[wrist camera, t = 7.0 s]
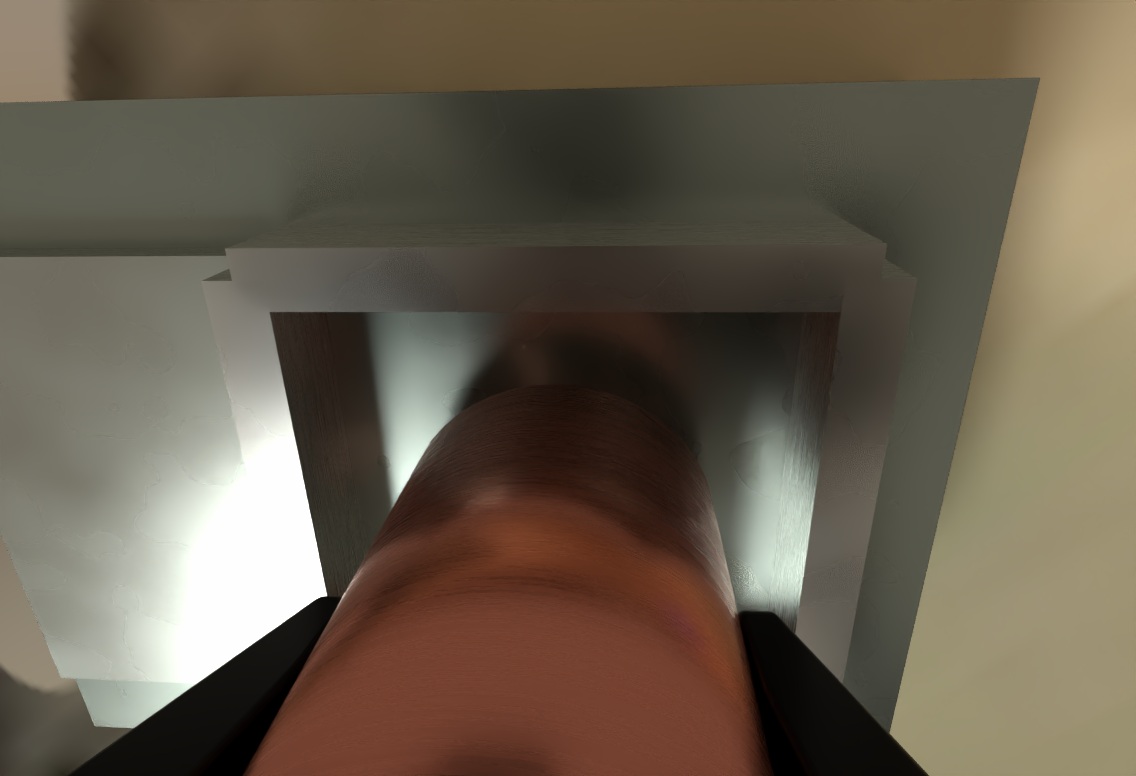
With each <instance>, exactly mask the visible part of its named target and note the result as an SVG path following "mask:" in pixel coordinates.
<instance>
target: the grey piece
mask: <svg viewBox="0 0 1136 776" xmlns="http://www.w3.org/2000/svg"><path fill="white" fill-rule="evenodd" d="M1039 80H1040V78H1010V79H968V80H927V81H885V82H844V83H802V84H760V85H719V86H677V87H635V88H594V89H552V90H511V91H469V92H427V93H386V94H344V95H302V96H261V97H219V98H177V99H136V100H94V101H53V102H15V103H14V102H13V103H0V534H1V536H2V538H3V541H4V543H5V545H6V548H7V550H8V553H9V555H10V557H11V560H12V562H13V564H14V567H15V569H16V572H17V574H18V576H19V579H20V581H21V584H22V586H23V588H24V591H25V593H26V595H27V598H28V600H29V602H30V605H31V607H32V609H33V612H34V615H35V617H36V619H37V622H38V624H39V626H40V629H41V631H42V634H43V636H44V638H45V641H46V643H47V646H48V648H49V650H50V653H51V655H52V657H53V660H54V662H55V665H56V667H57V669H58V672H59V674H60V677H61V678H75V679H76V681H77V684H78V686H79V689H80V691H81V694H82V696H83V699H84V701H85V703H86V706H87V708H88V711H89V713H90V716H91V718H92V721H93V723H94V725H95V726H102V727H122V728H135V727H136V726H137V725H139V724H140V723H142V722H143V721H144V720H146V719H147V718H149V717H150V716H151V715H153V714H154V713H156V712H157V711H158V710H160V709H161V708H163V707H164V706H166V705H167V704H168V703H170V702H171V701H173V700H174V699H175V698H177V697H178V696H180V695H181V694H182V693H184V692H185V691H187V690H188V689H190V688H191V687H192V686H194V685H195V684H197V683H198V682H199V681H201V680H202V679H204V678H205V677H206V676H208V675H209V674H211V673H212V672H213V671H215V670H216V669H218V668H219V667H221V666H222V665H223V664H225V663H226V662H228V661H229V660H230V659H232V658H233V657H235V656H236V655H237V654H239V653H240V652H242V651H243V650H245V649H246V648H247V647H249V646H250V645H252V644H253V643H254V642H256V641H257V640H259V639H260V638H261V637H263V636H264V635H266V634H267V633H269V632H270V631H271V630H273V629H274V628H276V627H277V626H278V625H280V624H281V623H283V622H284V621H285V620H287V619H288V618H290V617H291V616H292V615H294V614H295V613H297V612H298V611H300V610H301V609H302V608H304V607H305V606H307V605H308V604H309V603H311V602H312V601H314V600H315V599H317V598H319V597H322V596H341V597H343V595H344V593H345V592H346V590H347V588H348V586H349V584H350V583H351V581H352V579H353V577H354V576H355V574H356V572H357V570H358V568H359V567H360V565H361V563H362V561H363V560H364V558H365V556H366V554H367V552H368V551H369V549H370V547H371V545H372V543H373V542H374V540H375V538H376V536H377V535H378V533H379V531H380V529H381V527H382V526H383V524H384V522H385V520H386V519H387V517H388V515H389V513H390V511H391V510H392V508H393V506H394V504H395V502H396V501H397V499H398V497H399V495H400V494H401V492H402V490H403V488H404V486H405V485H406V483H407V481H408V479H409V478H410V476H411V474H412V472H413V470H414V469H415V467H416V465H417V463H418V461H419V460H420V458H421V456H422V454H423V453H424V451H425V450H426V448H427V447H428V445H429V443H430V442H431V440H432V439H433V438H434V437H435V436H436V434H437V433H438V432H439V431H440V430H441V429H442V428H443V426H445V425H446V424H447V423H448V422H449V421H450V420H452V419H453V418H454V417H455V416H456V415H457V414H459V413H460V412H462V411H464V410H465V409H467V408H468V407H470V406H471V405H473V404H475V403H477V402H479V401H481V400H483V399H485V398H488V397H490V396H492V395H495V394H498V393H501V392H504V391H508V390H511V389H515V388H521V387H526V386H532V385H548V384H561V385H575V386H581V387H587V388H592V389H597V390H601V391H604V392H607V393H610V394H613V395H616V396H619V397H621V398H624V399H626V400H628V401H630V402H632V403H634V404H637V405H639V406H640V407H642V408H644V409H645V410H647V411H648V412H650V413H652V414H653V415H655V416H656V417H658V418H659V419H660V420H661V421H662V422H664V423H665V424H666V425H667V426H669V427H670V428H671V429H672V430H673V431H674V432H675V433H676V434H677V435H678V436H679V437H680V438H681V439H682V440H683V442H684V443H685V444H686V445H687V446H688V448H689V449H690V451H691V452H692V454H693V455H694V456H695V458H696V459H697V461H698V463H699V465H700V467H701V469H702V471H703V473H704V475H705V477H706V480H707V483H708V486H709V489H710V492H711V496H712V501H713V505H714V509H715V514H716V518H717V523H718V527H719V532H720V536H721V541H722V545H723V549H724V554H725V558H726V563H727V567H728V572H729V576H730V581H731V585H732V589H733V594H734V598H735V603H736V607H737V612H738V614H739V613H740V612H741V611H744V610H750V611H770V612H773V613H775V614H777V615H778V616H779V617H780V618H781V619H782V620H783V621H784V622H785V623H786V625H787V626H788V627H789V628H790V629H791V630H792V631H793V632H794V633H795V634H796V635H797V636H798V637H799V638H800V639H801V640H802V641H803V643H804V644H805V645H806V646H807V647H808V648H809V649H810V650H811V651H812V652H813V653H814V654H815V655H816V656H817V657H818V658H819V659H820V661H821V662H822V663H823V664H824V665H825V666H826V667H827V668H828V669H829V670H830V671H831V672H832V673H833V674H834V675H835V676H836V678H837V679H838V680H839V681H840V682H841V683H842V684H843V685H844V686H845V687H846V688H847V689H848V690H849V691H850V692H851V693H852V694H853V696H854V697H855V698H856V699H857V700H858V701H859V702H860V703H861V704H862V705H863V706H864V707H865V708H866V709H867V710H868V711H869V712H870V714H871V715H872V716H873V717H874V718H875V719H876V720H877V721H878V722H879V723H880V724H881V725H882V726H883V727H884V728H885V729H886V731H887V732H888V733H889V732H890V728H891V724H892V719H893V715H894V711H895V706H896V702H897V698H898V693H899V689H900V684H901V680H902V676H903V671H904V667H905V663H906V658H907V654H908V650H909V645H910V641H911V637H912V632H913V628H914V624H915V619H916V615H917V610H918V606H919V602H920V597H921V593H922V589H923V584H924V580H925V576H926V571H927V567H928V563H929V558H930V554H931V550H932V545H933V541H934V536H935V532H936V528H937V523H938V519H939V515H940V510H941V506H942V502H943V497H944V493H945V489H946V484H947V480H948V476H949V471H950V467H951V463H952V458H953V454H954V449H955V445H956V441H957V436H958V432H959V428H960V423H961V419H962V415H963V410H964V406H965V402H966V397H967V393H968V389H969V384H970V380H971V375H972V371H973V367H974V362H975V358H976V354H977V349H978V345H979V341H980V336H981V332H982V328H983V323H984V319H985V315H986V310H987V306H988V301H989V297H990V293H991V288H992V284H993V280H994V275H995V271H996V267H997V262H998V258H999V254H1000V249H1001V245H1002V241H1003V236H1004V232H1005V228H1006V223H1007V219H1008V214H1009V210H1010V206H1011V201H1012V197H1013V193H1014V188H1015V184H1016V180H1017V175H1018V171H1019V167H1020V162H1021V158H1022V154H1023V149H1024V145H1025V140H1026V136H1027V132H1028V127H1029V123H1030V119H1031V114H1032V110H1033V106H1034V101H1035V97H1036V93H1037V88H1038V84H1039Z"/></svg>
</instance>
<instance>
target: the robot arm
mask: <svg viewBox="0 0 1136 776" xmlns="http://www.w3.org/2000/svg"><path fill="white" fill-rule="evenodd" d="M341 599H342V597H341V596H322V597H319V598H317V599H315V600H314V601H312V602H311V603H309V604H308V605H307V606H305V607H304V608H302V609H301V610H300V611H298V612H297V613H295V614H294V615H292V616H291V617H290V618H288V619H287V620H285V621H284V622H283V623H281V624H280V625H278V626H277V627H276V628H274V629H273V630H271V631H270V632H269V633H267V634H266V635H264V636H263V637H261V638H260V639H259V640H257V641H256V642H254V643H253V644H252V645H250V646H249V647H247V648H246V649H245V650H243V651H242V652H240V653H239V654H237V655H236V656H235V657H233V658H232V659H230V660H229V661H228V662H226V663H225V664H223V665H222V666H221V667H219V668H218V669H216V670H215V671H213V672H212V673H211V674H209V675H208V676H206V677H205V678H204V679H202V680H201V681H199V682H198V683H197V684H195V685H194V686H192V687H191V688H190V689H188V690H187V691H185V692H184V693H182V694H181V695H180V696H178V697H177V698H175V699H174V700H173V701H171V702H170V703H168V704H167V705H166V706H164V707H163V708H161V709H160V710H158V711H157V712H156V713H154V714H153V715H151V716H150V717H149V718H147V719H146V720H144V721H143V722H142V723H140V724H139V725H137V726H136V727H135V728H133V729H132V730H130V731H129V732H127V733H126V734H125V735H123V736H122V737H120V738H119V739H118V740H116V741H115V742H113V743H112V744H111V745H109V746H108V747H106V748H105V749H103V750H102V751H101V752H99V753H98V754H96V755H95V756H94V757H92V758H91V759H89V760H88V761H87V762H85V763H84V764H82V765H81V766H79V767H78V768H77V769H75V770H74V771H72V772H71V773H70V774H68V775H67V776H242V775H243V773H244V772H245V770H246V768H247V766H248V765H249V763H250V761H251V759H252V757H253V756H254V754H255V752H256V750H257V748H258V747H259V745H260V743H261V741H262V740H263V738H264V736H265V734H266V732H267V731H268V729H269V727H270V725H271V724H272V722H273V720H274V718H275V716H276V715H277V713H278V711H279V709H280V707H281V706H282V704H283V702H284V700H285V699H286V697H287V695H288V693H289V691H290V690H291V688H292V686H293V684H294V683H295V681H296V679H297V677H298V675H299V674H300V672H301V670H302V668H303V666H304V665H305V663H306V661H307V659H308V658H309V656H310V654H311V652H312V650H313V649H314V647H315V645H316V643H317V642H318V640H319V638H320V636H321V634H322V633H323V631H324V629H325V627H326V625H327V624H328V622H329V620H330V618H331V617H332V615H333V613H334V611H335V609H336V608H337V606H338V604H339V602H340V601H341ZM738 616H739V620H740V625H741V629H742V634H743V638H744V643H745V647H746V652H747V656H748V660H749V665H750V669H751V674H752V678H753V683H754V687H755V692H756V696H757V700H758V705H759V709H760V714H761V718H762V723H763V727H764V732H765V736H766V740H767V745H768V749H769V754H770V758H771V763H772V767H773V772H774V776H929V775H928V774H927V773H926V772H925V771H924V770H923V769H922V768H921V767H920V765H919V764H918V763H917V762H916V761H915V760H914V759H913V758H912V757H911V756H910V755H909V754H908V753H907V752H906V751H905V750H904V749H903V747H902V746H901V745H900V744H899V743H898V742H897V741H896V740H895V739H894V738H893V737H892V736H891V735H890V734H889V733H888V732H887V731H886V729H885V728H884V727H883V726H882V725H881V724H880V723H879V722H878V721H877V720H876V719H875V718H874V717H873V716H872V715H871V714H870V712H869V711H868V710H867V709H866V708H865V707H864V706H863V705H862V704H861V703H860V702H859V701H858V700H857V699H856V698H855V697H854V696H853V694H852V693H851V692H850V691H849V690H848V689H847V688H846V687H845V686H844V685H843V684H842V683H841V682H840V681H839V680H838V679H837V678H836V676H835V675H834V674H833V673H832V672H831V671H830V670H829V669H828V668H827V667H826V666H825V665H824V664H823V663H822V662H821V661H820V659H819V658H818V657H817V656H816V655H815V654H814V653H813V652H812V651H811V650H810V649H809V648H808V647H807V646H806V645H805V644H804V643H803V641H802V640H801V639H800V638H799V637H798V636H797V635H796V634H795V633H794V632H793V631H792V630H791V629H790V628H789V627H788V626H787V625H786V623H785V622H784V621H783V620H782V619H781V618H780V617H779V616H778V615H777V614H775V613H773V612H770V611H750V610H744V611H741V612H740V613H739V614H738Z"/></svg>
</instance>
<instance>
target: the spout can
mask: <svg viewBox="0 0 1136 776" xmlns="http://www.w3.org/2000/svg"><path fill="white" fill-rule="evenodd" d="M242 776H774V772H773V767H772V763H771V758H770V754H769V749H768V745H767V740H766V736H765V732H764V727H763V723H762V718H761V714H760V709H759V705H758V700H757V696H756V692H755V687H754V683H753V678H752V674H751V669H750V665H749V660H748V656H747V652H746V647H745V643H744V638H743V634H742V629H741V625H740V620H739V616H738V612H737V607H736V603H735V598H734V594H733V589H732V585H731V581H730V576H729V572H728V567H727V563H726V558H725V554H724V549H723V545H722V541H721V536H720V532H719V527H718V523H717V518H716V514H715V509H714V505H713V501H712V496H711V492H710V489H709V486H708V483H707V480H706V477H705V475H704V473H703V471H702V469H701V467H700V465H699V463H698V461H697V459H696V458H695V456H694V455H693V454H692V452H691V451H690V449H689V448H688V446H687V445H686V444H685V443H684V442H683V440H682V439H681V438H680V437H679V436H678V435H677V434H676V433H675V432H674V431H673V430H672V429H671V428H670V427H669V426H667V425H666V424H665V423H664V422H662V421H661V420H660V419H659V418H658V417H656V416H655V415H653V414H652V413H650V412H648V411H647V410H645V409H644V408H642V407H640V406H639V405H637V404H634V403H632V402H630V401H628V400H626V399H624V398H621V397H619V396H616V395H613V394H610V393H607V392H604V391H601V390H597V389H592V388H587V387H581V386H575V385H561V384H548V385H532V386H526V387H521V388H515V389H511V390H508V391H504V392H501V393H498V394H495V395H492V396H490V397H488V398H485V399H483V400H481V401H479V402H477V403H475V404H473V405H471V406H470V407H468V408H467V409H465V410H464V411H462V412H460V413H459V414H457V415H456V416H455V417H454V418H453V419H452V420H450V421H449V422H448V423H447V424H446V425H445V426H443V428H442V429H441V430H440V431H439V432H438V433H437V434H436V436H435V437H434V438H433V439H432V440H431V442H430V443H429V445H428V447H427V448H426V450H425V451H424V453H423V454H422V456H421V458H420V460H419V461H418V463H417V465H416V467H415V469H414V470H413V472H412V474H411V476H410V478H409V479H408V481H407V483H406V485H405V486H404V488H403V490H402V492H401V494H400V495H399V497H398V499H397V501H396V502H395V504H394V506H393V508H392V510H391V511H390V513H389V515H388V517H387V519H386V520H385V522H384V524H383V526H382V527H381V529H380V531H379V533H378V535H377V536H376V538H375V540H374V542H373V543H372V545H371V547H370V549H369V551H368V552H367V554H366V556H365V558H364V560H363V561H362V563H361V565H360V567H359V568H358V570H357V572H356V574H355V576H354V577H353V579H352V581H351V583H350V584H349V586H348V588H347V590H346V592H345V593H344V595H343V597H342V599H341V601H340V602H339V604H338V606H337V608H336V609H335V611H334V613H333V615H332V617H331V618H330V620H329V622H328V624H327V625H326V627H325V629H324V631H323V633H322V634H321V636H320V638H319V640H318V642H317V643H316V645H315V647H314V649H313V650H312V652H311V654H310V656H309V658H308V659H307V661H306V663H305V665H304V666H303V668H302V670H301V672H300V674H299V675H298V677H297V679H296V681H295V683H294V684H293V686H292V688H291V690H290V691H289V693H288V695H287V697H286V699H285V700H284V702H283V704H282V706H281V707H280V709H279V711H278V713H277V715H276V716H275V718H274V720H273V722H272V724H271V725H270V727H269V729H268V731H267V732H266V734H265V736H264V738H263V740H262V741H261V743H260V745H259V747H258V748H257V750H256V752H255V754H254V756H253V757H252V759H251V761H250V763H249V765H248V766H247V768H246V770H245V772H244V773H243V775H242Z"/></svg>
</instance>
